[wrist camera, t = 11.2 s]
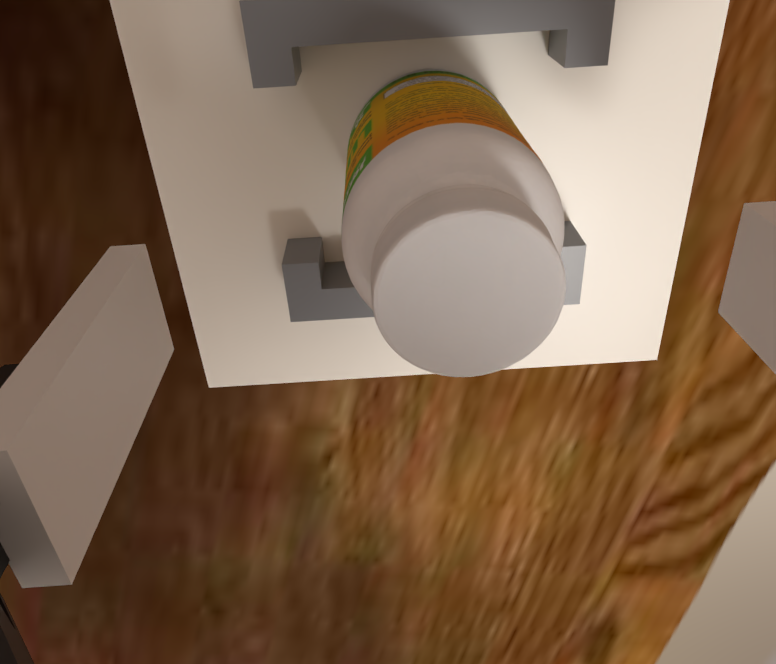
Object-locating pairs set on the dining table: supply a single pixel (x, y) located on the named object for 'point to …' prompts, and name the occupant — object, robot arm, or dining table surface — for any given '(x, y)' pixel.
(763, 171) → the dining table surface
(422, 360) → the supplement bottle
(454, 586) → the dining table surface
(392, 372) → the bottle holder
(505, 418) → the dining table surface
